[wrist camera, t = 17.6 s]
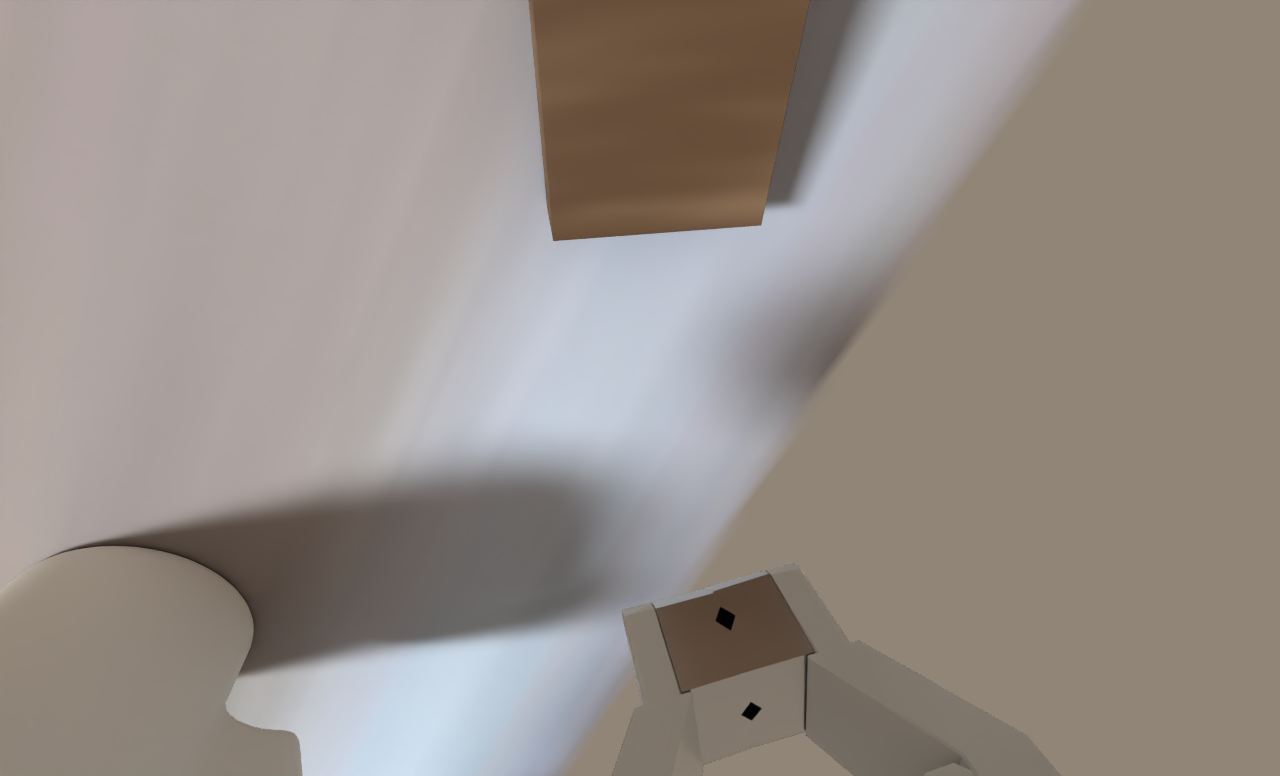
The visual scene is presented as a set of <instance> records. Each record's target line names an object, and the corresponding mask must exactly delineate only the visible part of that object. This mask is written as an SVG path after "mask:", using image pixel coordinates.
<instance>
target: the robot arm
mask: <svg viewBox="0 0 1280 776" xmlns="http://www.w3.org/2000/svg"><path fill="white" fill-rule="evenodd" d="M622 616H623V621H624V626H625V631H626V636H627V640H628V645H629V650H630V655H631V659H632V664H633V669H634V674H635V678H636V683H637V688H638V692H639V696H640V700H641V704H642V706H641V707H638V708H635V709H634V712H633V715H632V718H631V721H630V723H629V727H628V730H627V732H626V735H625V739H624V741H623V744H622V747H621V750H620V753H619V756H618V759H617V762H616V765H615V768H614V771H613V774H612V776H702V772H703V766H702V765H705V764H708V763H710V762H713V761H716V760H718V759H722V758H724V757H727V756H730V755H733V754H736V753H738V752H741V751H744V750H747V749H749V748H752V747H756V746H759V745H762V744H766V743H769V742H773V741H776V740H779V739H783V738H786V737H790V736H793V735H797V734H800V733H804V732H806V736H808V737H809V738H810V739H811V740H812V741H813V742H815V743H816V744H817V745H818V746H819V747H821V748H822V749H823V750H824V751H825V752H826V753H828V754H829V755H830V756H831V757H832V758H834V759H835V760H836V761H837V762H838V763H839V764H841V765H842V766H843V767H844V768H845V769H847V770H848V771H849V772H850V773H851V774H852V775H854V776H1061V775H1060V773H1059V772H1058V771H1057V770H1056V769H1055V767H1054V766H1053V765H1052V764H1051V763H1050V762H1049V760H1048V759H1047V758H1046V757H1045V756H1044V755H1043V753H1042V752H1041V751H1040V750H1039V749H1038V747H1037V746H1036V745H1035V744H1034V743H1033V741H1032V740H1031V739H1030V738H1029V737H1028V736H1027V735H1026V734H1024V733H1023V732H1021V731H1019V730H1017V729H1015V728H1014V727H1012V726H1010V725H1008V724H1007V723H1005V722H1003V721H1001V720H999V719H998V718H996V717H994V716H992V715H991V714H989V713H987V712H985V711H984V710H982V709H980V708H978V707H976V706H975V705H973V704H971V703H969V702H967V701H966V700H964V699H962V698H960V697H959V696H957V695H955V694H953V693H952V692H950V691H948V690H946V689H944V688H943V687H941V686H939V685H937V684H935V683H934V682H932V681H930V680H928V679H927V678H924V677H923V676H921V675H919V674H918V673H916V672H914V671H912V670H911V669H909V668H907V667H905V666H904V665H902V664H900V663H898V662H896V661H895V660H893V659H891V658H889V657H888V656H886V655H884V654H882V653H881V652H879V651H877V650H875V649H873V648H872V647H870V646H868V645H866V644H864V643H863V642H861V641H855V642H851V643H850V642H849V640H848V639H847V637H846V636H845V634H844V633H843V631H842V630H841V628H840V627H839V625H838V624H837V622H836V621H835V619H834V618H833V616H832V615H831V613H830V612H829V610H828V609H827V607H826V606H825V604H824V603H823V601H822V600H821V598H820V597H819V595H818V594H817V592H816V591H815V589H814V588H813V586H812V585H811V583H810V582H809V580H808V579H807V577H806V576H805V574H804V573H803V571H802V570H801V568H800V567H799V566H798V565H796V564H795V563H791V564H787V565H784V566H780V567H777V568H773V569H769V570H766V571H760V572H757V573H753V574H750V575H747V576H744V577H740V578H737V579H733V580H730V581H726V582H723V583H720V584H716V585H713V586H709V588H706V589H702V590H698V591H694V592H690V593H686V594H682V595H678V596H674V597H670V598H666V599H662V600H658V601H654V602H652V603H647V604H643V605H639V606H635V607H632V608H628V609H624V610H622Z"/></svg>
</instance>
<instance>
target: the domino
mask: <svg viewBox="0 0 1280 776" xmlns="http://www.w3.org/2000/svg"><path fill="white" fill-rule="evenodd" d="M809 2H810V0H529V10H530V21H531V32H532V44H533V55H534V66H535V77H536V88H537V99H538V111H539V122H540V133H541V144H542V155H543V166H544V178H545V189H546V200H547V209H548V214H549V220H550V225H551V231H552V236H553V241H559V240H573V239H586V238H599V237H612V236H626V235H639V234H652V233H665V232H678V231H692V230H705V229H718V228H731V227H745V226H758V225H761V223H762V219H763V214H764V209H765V205H766V200H767V196H768V191H769V186H770V182H771V177H772V173H773V168H774V163H775V159H776V154H777V150H778V145H779V140H780V136H781V131H782V127H783V122H784V117H785V113H786V108H787V104H788V99H789V94H790V90H791V85H792V81H793V76H794V71H795V67H796V62H797V58H798V53H799V48H800V44H801V39H802V35H803V30H804V25H805V21H806V16H807V12H808V7H809Z"/></svg>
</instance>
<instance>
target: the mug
mask: <svg viewBox="0 0 1280 776" xmlns="http://www.w3.org/2000/svg"><path fill="white" fill-rule="evenodd" d="M253 633H254V624H253V619H252V615H251V612H250V610H249V608H248V606H247V604H246V602H245V600H244V599H243V597H242V596H241V595H240V594H239V592H238V591H237V590H236V589H235V588H234V587H233V586H232V585H231V584H230V583H229V582H227V581H226V580H225V579H224V578H222V577H221V576H220V575H218V574H217V573H215V572H213V571H212V570H210V569H208V568H206V567H204V566H202V565H200V564H198V563H196V562H194V561H191V560H189V559H186V558H183V557H181V556H178V555H174V554H171V553H167V552H163V551H158V550H153V549H147V548H140V547H130V546H100V547H90V548H83V549H78V550H73V551H68V552H64V553H61V554H58V555H55V556H52V557H49V558H47V559H45V560H42V561H40V562H38V563H36V564H35V565H33V566H31V567H29V568H28V569H26V570H25V571H23V572H22V573H21V574H19V575H18V576H17V577H16V578H14V579H13V580H12V581H11V582H10V583H9V584H7V585H6V586H5V587H4V588H3V589H2V590H1V591H0V776H302V764H301V753H300V744H299V740H298V737H297V736H296V735H295V734H294V733H292V732H289V731H284V730H270V729H261V728H257V727H253V726H250V725H247V724H245V723H242V722H240V721H238V720H236V719H235V718H234V717H232V716H231V715H230V714H229V713H228V711H227V710H226V701H227V699H228V696H229V694H230V692H231V690H232V687H233V685H234V683H235V681H236V679H237V676H238V674H239V672H240V670H241V668H242V665H243V663H244V661H245V659H246V657H247V654H248V652H249V649H250V647H251V644H252V640H253Z"/></svg>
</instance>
